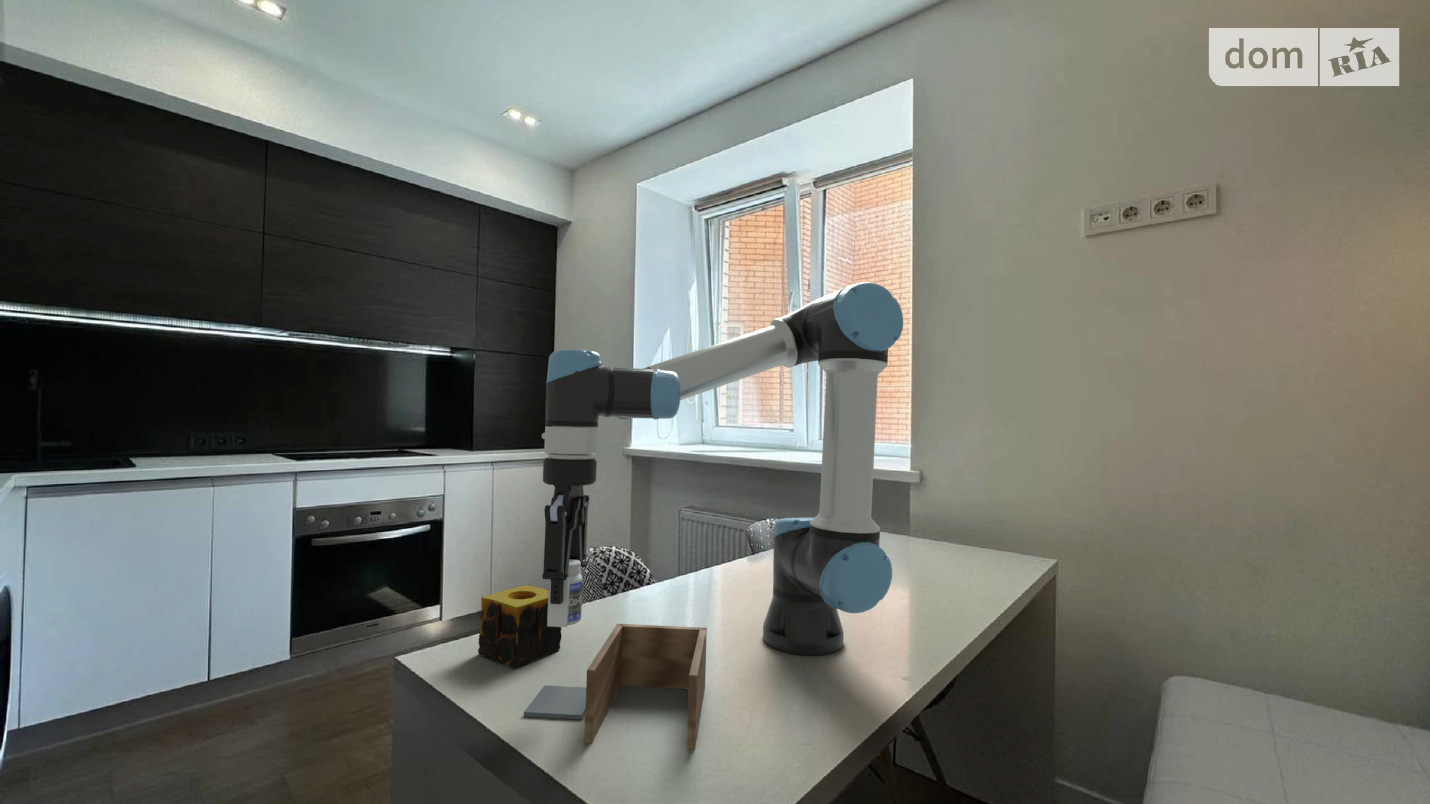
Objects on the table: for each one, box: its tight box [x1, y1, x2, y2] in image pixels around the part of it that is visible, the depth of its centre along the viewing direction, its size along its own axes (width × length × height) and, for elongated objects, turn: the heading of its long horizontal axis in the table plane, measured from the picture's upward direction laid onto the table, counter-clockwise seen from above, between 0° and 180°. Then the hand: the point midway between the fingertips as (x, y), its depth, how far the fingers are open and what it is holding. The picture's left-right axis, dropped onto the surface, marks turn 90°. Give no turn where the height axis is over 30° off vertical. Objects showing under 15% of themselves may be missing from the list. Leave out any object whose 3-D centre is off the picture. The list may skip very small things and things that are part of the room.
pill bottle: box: [547, 559, 584, 626], centre depth 83 cm, size 5×5×8 cm
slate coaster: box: [523, 684, 586, 720], centre depth 82 cm, size 8×8×1 cm
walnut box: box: [583, 623, 708, 750], centre depth 80 cm, size 14×17×9 cm
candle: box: [477, 584, 562, 669], centre depth 100 cm, size 10×10×10 cm
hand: (563, 618), depth 82 cm, fingers closed on pill bottle, 5 cm apart
